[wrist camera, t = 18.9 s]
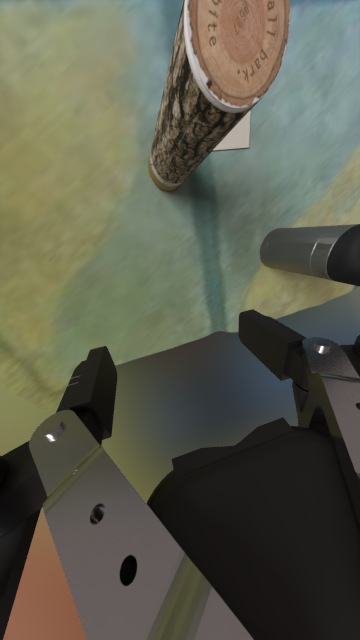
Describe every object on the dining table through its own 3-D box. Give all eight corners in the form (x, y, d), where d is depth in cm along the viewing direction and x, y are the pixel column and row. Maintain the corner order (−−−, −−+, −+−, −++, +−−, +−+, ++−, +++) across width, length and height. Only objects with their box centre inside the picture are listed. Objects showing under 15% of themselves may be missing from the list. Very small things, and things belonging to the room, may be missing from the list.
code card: (252, 49, 28) (253, 48, 28) (248, 147, 34) (249, 147, 33) (182, 48, 26) (182, 46, 26) (190, 152, 32) (191, 152, 31)
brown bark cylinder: (190, 165, 32) (309, 20, 11) (171, 200, 34) (242, 136, 12) (159, 134, 30) (237, -151, 8) (141, 174, 31) (163, 31, 9)
